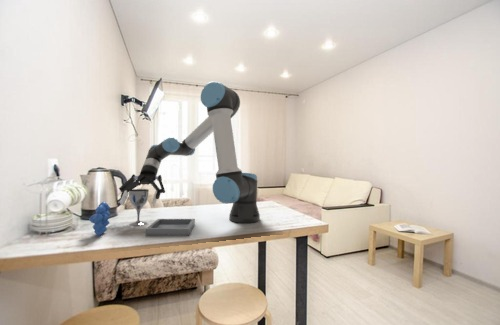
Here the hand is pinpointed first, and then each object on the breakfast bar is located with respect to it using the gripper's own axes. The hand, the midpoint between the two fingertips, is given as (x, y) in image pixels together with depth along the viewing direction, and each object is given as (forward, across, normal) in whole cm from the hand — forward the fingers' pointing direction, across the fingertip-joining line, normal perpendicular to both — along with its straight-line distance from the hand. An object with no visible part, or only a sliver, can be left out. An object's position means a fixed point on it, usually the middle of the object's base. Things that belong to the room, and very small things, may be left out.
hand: (137, 204), depth 101 cm
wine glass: (+6, -1, -6) cm, 9 cm away
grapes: (+16, +8, +4) cm, 19 cm away
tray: (+12, -18, 0) cm, 22 cm away
